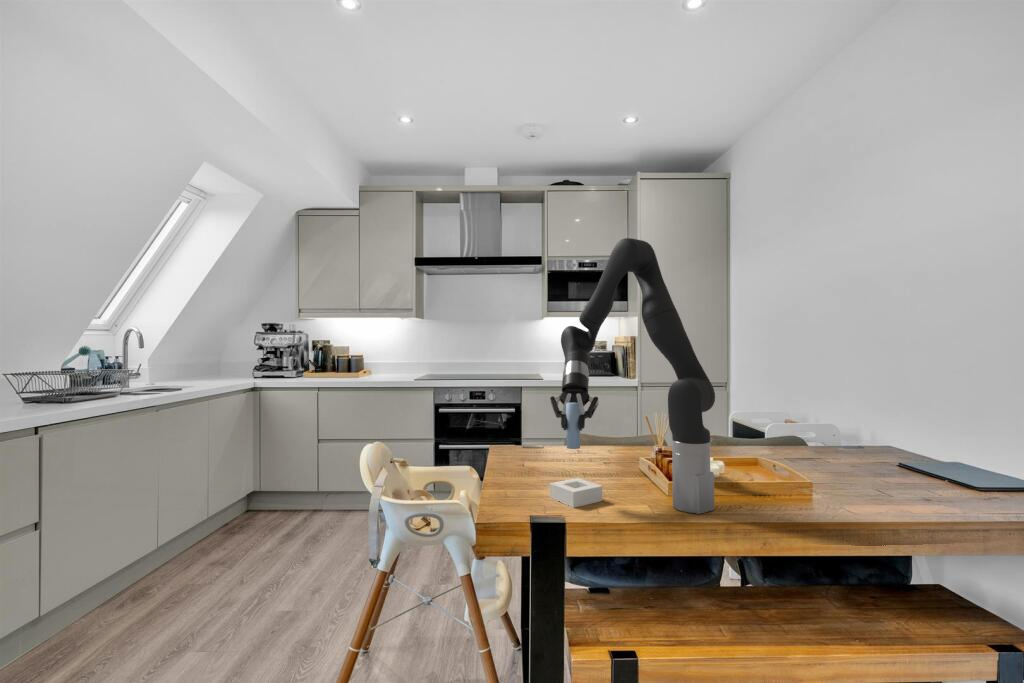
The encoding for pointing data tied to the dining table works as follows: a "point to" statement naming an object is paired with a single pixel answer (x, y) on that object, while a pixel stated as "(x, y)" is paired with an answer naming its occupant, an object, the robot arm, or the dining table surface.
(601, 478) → the dining table surface
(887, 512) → the dining table surface
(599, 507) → the dining table surface
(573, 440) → the peg
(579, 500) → the socket
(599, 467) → the dining table surface
